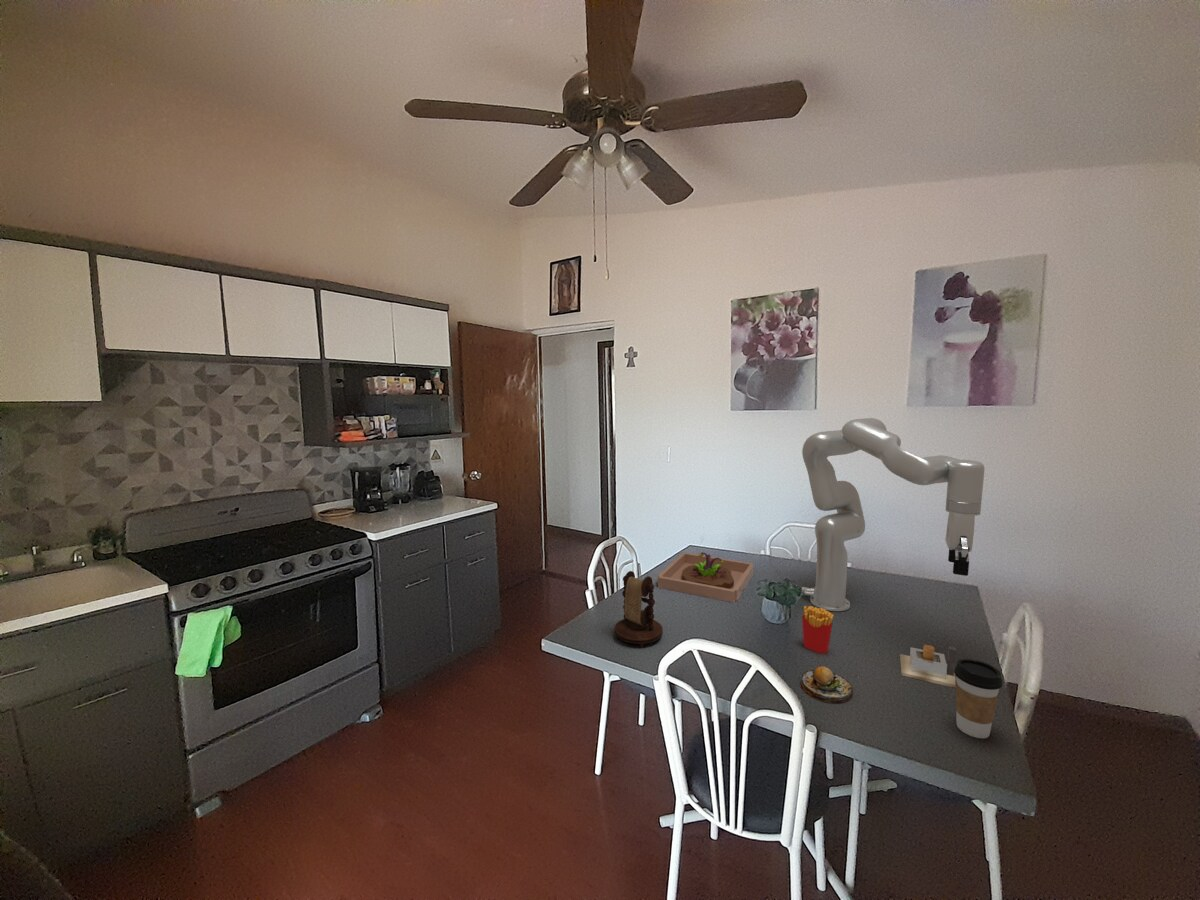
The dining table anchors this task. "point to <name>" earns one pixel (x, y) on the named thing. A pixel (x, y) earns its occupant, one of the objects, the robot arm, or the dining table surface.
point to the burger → (826, 686)
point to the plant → (708, 573)
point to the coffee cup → (976, 696)
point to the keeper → (929, 655)
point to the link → (928, 663)
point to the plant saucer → (673, 581)
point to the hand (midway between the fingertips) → (957, 568)
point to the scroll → (638, 612)
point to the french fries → (817, 629)
